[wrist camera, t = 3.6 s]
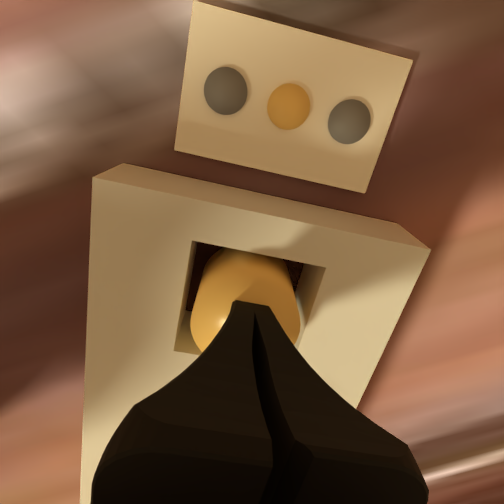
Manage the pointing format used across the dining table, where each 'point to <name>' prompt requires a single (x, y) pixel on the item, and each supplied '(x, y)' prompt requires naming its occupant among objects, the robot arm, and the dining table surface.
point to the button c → (242, 292)
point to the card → (285, 99)
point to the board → (179, 278)
